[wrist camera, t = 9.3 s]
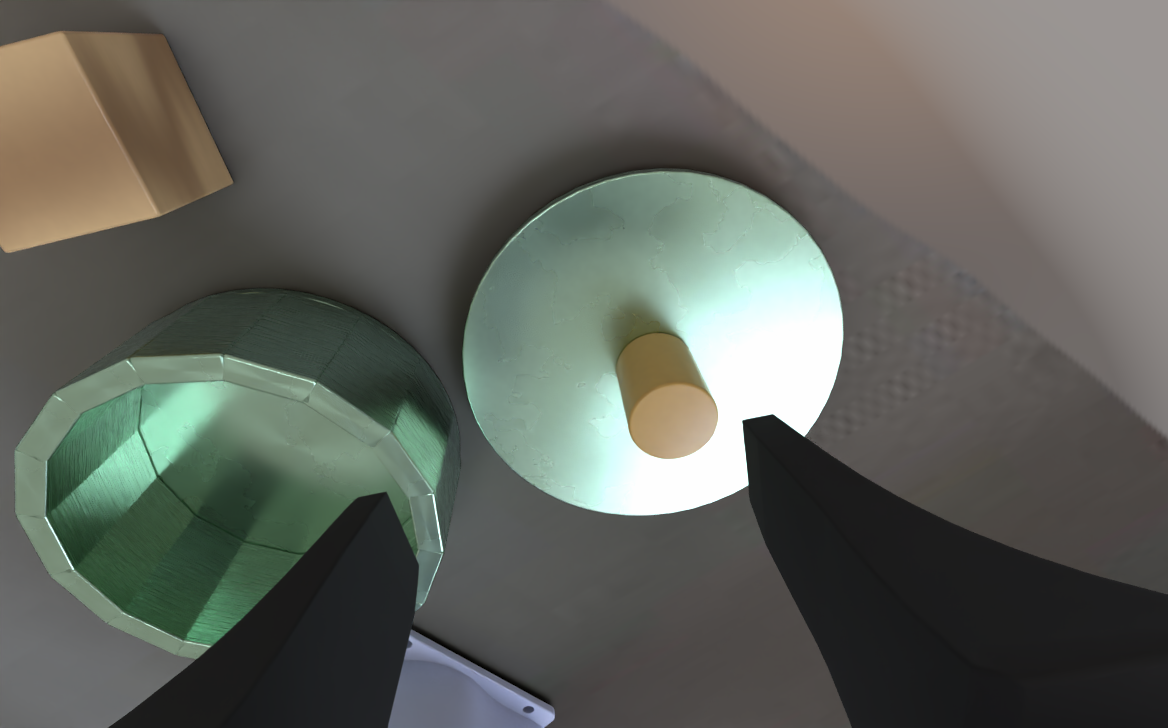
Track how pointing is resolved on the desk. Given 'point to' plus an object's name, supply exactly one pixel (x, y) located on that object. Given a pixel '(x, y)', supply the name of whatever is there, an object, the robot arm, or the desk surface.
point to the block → (97, 136)
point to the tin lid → (649, 339)
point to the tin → (231, 459)
